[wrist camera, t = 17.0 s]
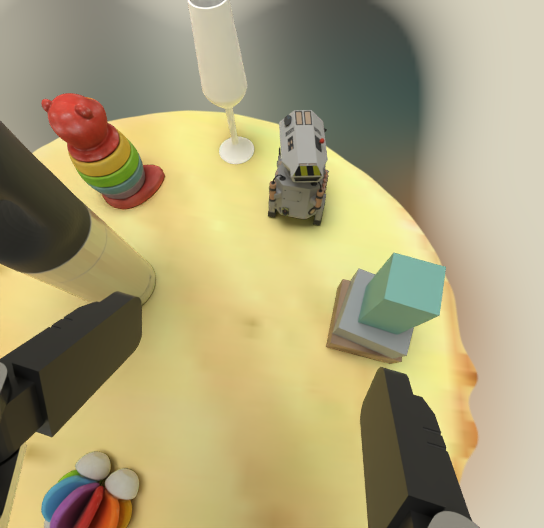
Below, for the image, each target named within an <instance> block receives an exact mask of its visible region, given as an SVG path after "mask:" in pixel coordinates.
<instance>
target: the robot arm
mask: <svg viewBox="0 0 544 528" xmlns="http://www.w3.org/2000/svg"><path fill="white" fill-rule="evenodd" d="M0 264H2V265H4V266H7V267H9V268H11V269H14V270H16V271H19V272H21V273H24V274H26V275H28V276H31V277H33V278H35V279H38V280H40V281H42V282H45V283H47V284H50V285H52V286H54V287H57V288H59V289H61V290H63V291H66V292H68V293H70V294H73V295H75V296H77V297H80V298H82V299H84V300H87V301H89V302H91V303H90V304H87V305H85V306H82V307H79V308H77V309H76V310H74V311H73V312H71V313H70V314H68V315H67V316H65V317H64V319H61V320H59V321H58V322H56V323H54V324H53V325H52V327H51V328H50V327H48V328H47V329H45V330H44V331H42V332H41V333H39V334H38V335H36V336H35V337H33V338H32V339H30V340H29V341H27V342H25V343H24V344H22V345H21V346H19V347H18V348H16V349H15V350H13V351H12V352H10V353H9V354H7V355H6V356H4V357H3V358H1V359H0V528H8V522H9V518H10V514H11V510H12V506H13V502H14V497H15V493H16V489H17V485H18V481H19V477H20V473H21V468H22V464H23V460H24V456H25V452H26V446H27V445H26V441H27V440H28V439H29V438H30V437H31V436H32V435H33V434H34V433H35V432H38V433H41V434H44V435H47V436H50V437H53V436H54V435H55V434H56V433H57V432H58V431H59V430H60V429H61V427H62V426H63V425H64V424H65V423H66V422H67V421H68V420H69V419H70V418H71V417H72V416H73V415H74V414H75V413H76V412H77V411H78V410H79V409H80V408H81V407H82V406H83V404H84V403H85V402H86V401H87V400H88V399H89V398H90V397H91V396H92V395H93V394H94V393H95V392H96V391H97V390H98V389H99V388H100V387H101V386H102V385H103V384H104V383H105V381H106V380H107V379H108V378H109V377H110V376H111V375H112V374H113V373H114V372H115V371H116V370H117V369H118V368H119V367H120V366H121V365H122V364H123V363H124V362H125V361H126V359H127V358H128V357H129V356H130V355H131V354H132V353H133V352H134V351H135V350H136V348H137V347H138V345H139V342H140V340H141V335H142V304H144V303H145V302H146V301H147V299H148V298H149V297H150V295H151V294H152V292H153V290H154V287H155V281H156V279H155V273H154V270H153V268H152V266H151V265H150V264H149V263H148V262H147V261H146V260H145V259H144V258H143V257H142V256H141V255H139V253H138V252H136V251H135V250H134V249H133V248H132V247H131V246H130V245H129V244H128V243H127V242H125V241H124V240H123V239H122V238H121V237H120V236H119V235H118V234H117V233H116V232H115V231H113V230H112V229H111V228H110V227H109V226H108V225H107V224H106V223H105V222H104V221H103V220H101V219H100V218H99V217H98V216H97V215H96V214H95V213H94V212H93V211H91V210H90V209H89V208H88V207H87V206H86V205H85V204H84V203H83V202H82V201H80V200H79V199H78V198H77V197H76V196H75V195H74V194H73V193H72V192H71V191H70V190H69V189H68V188H67V187H66V186H65V185H64V184H63V183H62V182H61V181H60V180H59V179H58V178H57V177H56V176H55V175H54V174H53V173H52V172H51V171H50V170H49V169H48V168H46V167H45V166H44V165H43V164H42V163H41V162H40V161H39V160H38V159H37V158H36V157H35V156H34V155H33V154H32V153H31V152H30V151H29V150H28V149H27V148H26V147H25V146H24V145H23V144H22V143H21V142H20V141H19V140H18V139H17V138H16V137H15V136H14V135H13V133H12V132H11V131H10V130H9V129H8V128H7V127H6V126H5V125H4V124H3V123H2V122H1V121H0ZM360 425H361V438H362V451H363V464H364V477H365V490H366V503H367V516H368V528H480V527H479V526H477V525H476V524H475V523H474V522H472V519H471V517H470V514H469V512H468V509H467V506H466V503H465V500H464V498H463V494H462V491H461V489H460V486H459V483H458V480H457V477H456V474H455V471H454V468H453V466H452V463H451V460H450V457H449V454H448V452H447V451H446V445H445V443H444V440H443V437H442V436H441V431H440V428H439V425H438V422H437V420H436V417H435V414H434V413H433V411H432V410H431V409H430V407H429V406H428V404H427V403H426V402H425V400H424V399H423V398H422V397H420V396H416V395H413V392H412V389H411V385H410V382H409V378H408V376H407V375H406V374H404V373H400V372H397V371H393V370H390V369H386V368H383V367H380V368H379V369H378V370H377V372H376V374H375V377H374V379H373V381H372V383H371V386H370V388H369V390H368V392H367V395H366V397H365V399H364V401H363V405H362V409H361V416H360Z"/></svg>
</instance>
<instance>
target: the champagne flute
mask: <svg viewBox="0 0 544 528" xmlns="http://www.w3.org/2000/svg"><path fill="white" fill-rule="evenodd" d="M188 6H189V12H190V18H191V24H192V31H193V36H194V42H195V49H196V54H197V60H198V66H199V72H200V78H201V85H202V91H203V93H204V95H205V97H206V98H207V99H208V100H209V101H210V102H212V103H213V104H215V105H216V106H219V107H222V108H225V110H226V115H227V120H228V125H229V130H230V135H231V138H229V139H227V140H225V141H224V142H223V143H222V144H221V146H220V149H219V153H220V156H221V158H222V159H223V160H224V161H226V162H228V163H231V164H240V163H243V162H246V161H247V160H249V159H250V158H251V157H252V155H253V153H254V145H253V143H252V142H251V141H250V140H249V139H247V138H245V137H239V136H237V131H236V125H235V119H234V114H233V108H232V107H234V106H235V105H236V104H238V103H239V102H240V101H241V100H242V98H243V97H244V95H245V93H246V90H247V80H246V76H245V71H244V66H243V61H242V56H241V52H240V47H239V42H238V38H237V33H236V28H235V23H234V19H233V14H232V9H231V5H230V0H188Z"/></svg>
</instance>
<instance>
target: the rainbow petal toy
mask: <svg viewBox="0 0 544 528" xmlns="http://www.w3.org/2000/svg"><path fill="white" fill-rule="evenodd" d="M75 467H76V470H73V471H71V472H69V473H67V474H66V475H64V476H63V477H62V478H61V479H60V480H59V481H58V483H57V484H55V485H54V486H53V487H52V488H51V489H50V490H49V491H48V492H47V494H46V495H45V497H44V499H43V502H42V509H41V510H42V515H43V517H44V518H45V522H44V528H126V527H127V525H128V524H129V522H130V519H131V515H132V504H131V501H130V499H133V498H135V497H136V495H137V493H138V489H139V479H138V476H137V474H136V473H135V472H134V471H132V470H130V469H127V468H123V469H119V470H116V471H115V472H113V473H112V474H111V475H110V476H109V477H108V475H109V473H110V468H111V464H110V460H109V458H108V456H107V455H106V454H104V453H102V452H98V451H94V452H90V453H88V454H86V455H84V456H83V457H82V458H80V459H79V460H78V462H77V463H76V465H75ZM107 477H108V478H107ZM105 478H107V479H106V481H105V488H104V486H100V484H101V482H102V480H103V479H105Z"/></svg>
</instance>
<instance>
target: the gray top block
mask: <svg viewBox="0 0 544 528" xmlns="http://www.w3.org/2000/svg"><path fill="white" fill-rule="evenodd" d="M374 276H375V274H372V273H370V272H367V271H364V270H362V269H358V270H357V272H356V273H355V275H354V276H353V278H352V279H351V281H350V284H349V287H348V290H347V293H346V296H345V298H344V301H343V304H342V307H341V310H340V313H339V316H338V318H337V321H336V324H335V327H334V330H333V333H332V334H335V335H337V336H339V337H342V338H344V339H347V340H349V341H351V342H354V343H356V344H359V345H361V346H363V347H366V348H368V349H371V350H373V351H375V352H378V353H380V354H383V355H385V356H387V357H390V358H392V359H393V358H398V357H402V356H407V352H408V348H409V344H410V340H411V336H412V333H413V329H414V327H413V328H411V329H409V330H407V331H404V332H402V333H400V334H398V335H396V334H393V333H390V332H387V331H384V330H381V329H378V328H375V327H371V326H368V325H365V324H362V323H359V322H358V318H359V314H360V310H361V305H362V301H363V297H364V293H365V288H366V286H367V285H368V283H369V282H370V281H371V280H372V279H373V277H374Z"/></svg>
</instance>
